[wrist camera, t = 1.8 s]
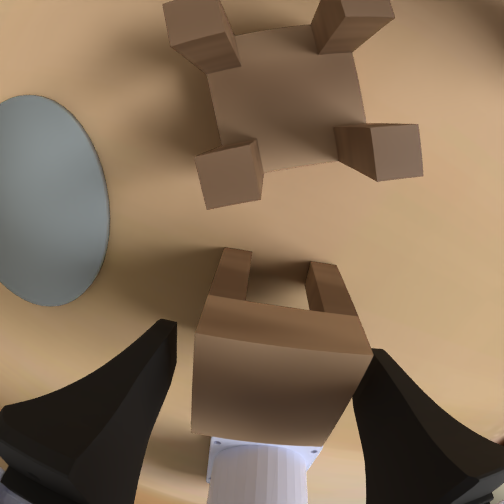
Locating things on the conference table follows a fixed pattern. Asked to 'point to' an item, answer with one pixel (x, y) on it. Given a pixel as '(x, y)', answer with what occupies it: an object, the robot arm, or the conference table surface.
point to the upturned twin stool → (288, 97)
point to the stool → (275, 359)
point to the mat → (49, 203)
